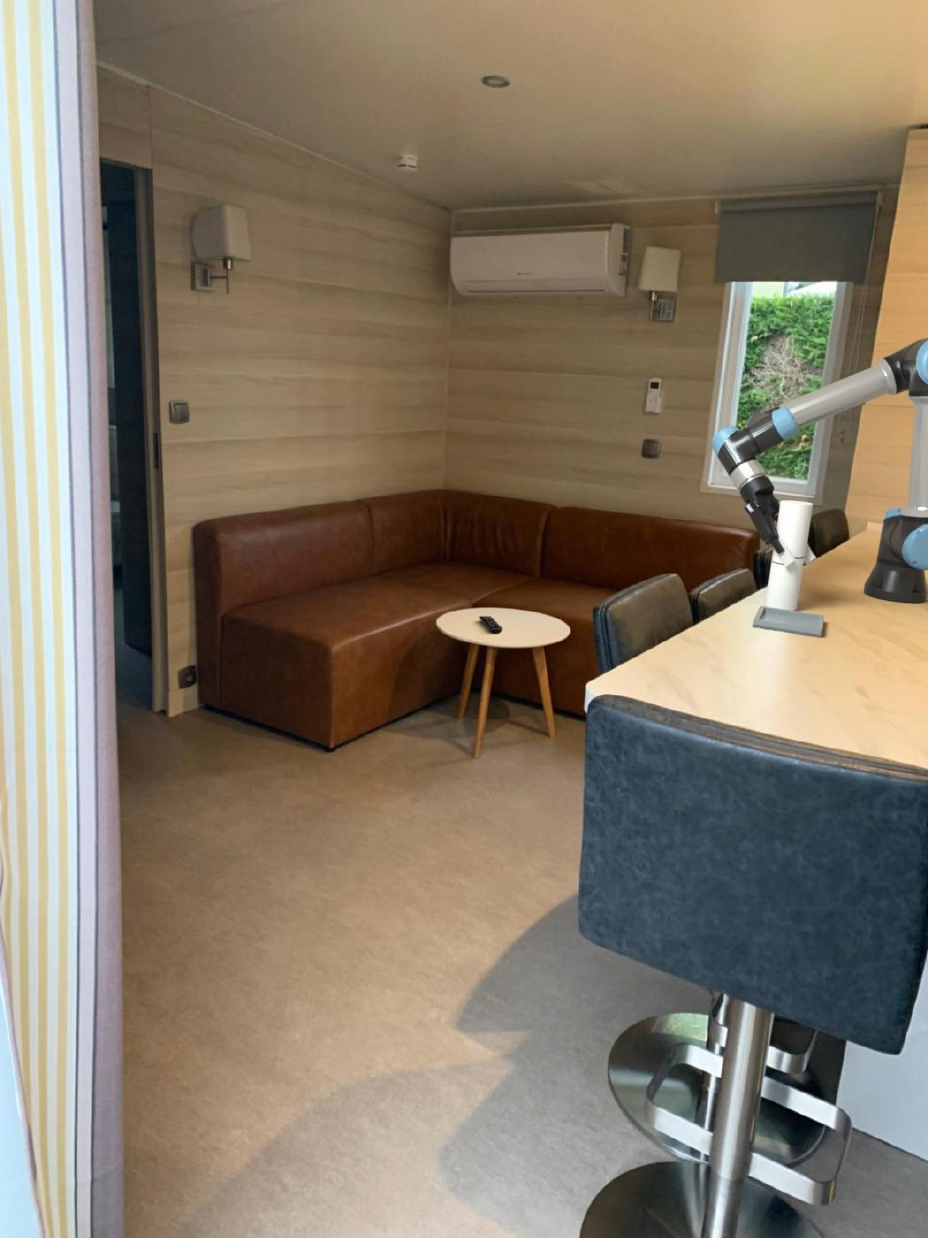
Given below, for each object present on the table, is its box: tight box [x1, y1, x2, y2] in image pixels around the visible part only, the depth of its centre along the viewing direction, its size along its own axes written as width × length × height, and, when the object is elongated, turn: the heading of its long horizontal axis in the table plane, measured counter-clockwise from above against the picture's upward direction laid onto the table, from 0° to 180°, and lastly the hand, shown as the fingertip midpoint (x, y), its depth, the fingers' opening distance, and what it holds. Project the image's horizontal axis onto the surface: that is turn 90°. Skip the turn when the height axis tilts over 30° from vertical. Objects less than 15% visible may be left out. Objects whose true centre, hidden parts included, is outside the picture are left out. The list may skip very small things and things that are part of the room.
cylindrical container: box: [764, 499, 814, 611], centre depth 209 cm, size 7×7×25 cm
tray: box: [752, 605, 825, 638], centre depth 198 cm, size 14×14×2 cm
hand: (800, 562), depth 207 cm, fingers closed on cylindrical container, 7 cm apart
